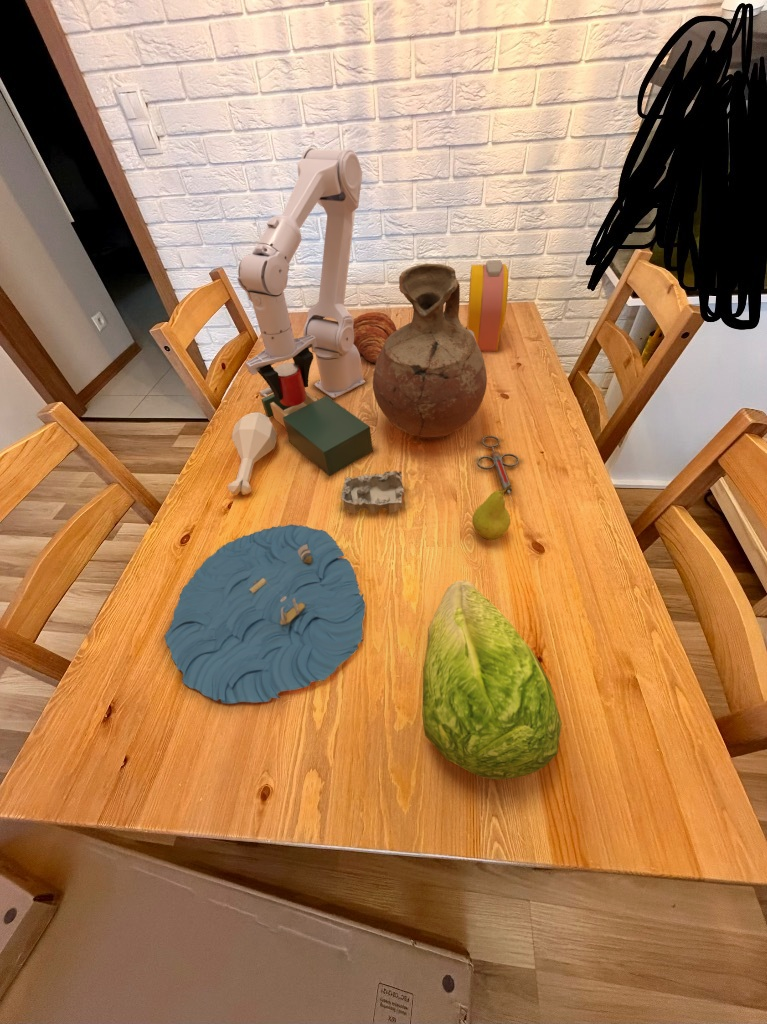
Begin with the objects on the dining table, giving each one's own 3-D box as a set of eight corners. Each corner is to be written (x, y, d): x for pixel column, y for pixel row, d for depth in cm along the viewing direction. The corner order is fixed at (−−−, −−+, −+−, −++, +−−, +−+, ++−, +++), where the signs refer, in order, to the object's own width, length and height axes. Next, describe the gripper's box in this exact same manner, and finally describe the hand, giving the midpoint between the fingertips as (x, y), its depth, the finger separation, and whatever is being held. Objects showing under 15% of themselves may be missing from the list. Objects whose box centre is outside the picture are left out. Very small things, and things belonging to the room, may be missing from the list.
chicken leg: (215, 500, 86) (215, 476, 79) (237, 426, 95) (239, 400, 88) (260, 509, 88) (264, 487, 81) (277, 436, 97) (282, 411, 90)
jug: (360, 446, 92) (339, 294, 70) (398, 388, 105) (391, 245, 83) (466, 469, 86) (479, 309, 64) (493, 404, 99) (511, 252, 77)
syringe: (489, 507, 79) (490, 501, 78) (468, 441, 91) (469, 435, 90) (534, 503, 79) (535, 496, 78) (507, 437, 91) (508, 431, 90)
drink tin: (297, 387, 98) (290, 358, 93) (312, 398, 95) (305, 369, 90) (274, 398, 96) (266, 369, 91) (288, 409, 93) (281, 380, 88)
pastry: (416, 341, 119) (416, 310, 113) (377, 367, 112) (374, 336, 106) (369, 324, 128) (366, 295, 122) (329, 348, 120) (324, 318, 114)
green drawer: (255, 407, 103) (250, 390, 100) (291, 389, 107) (287, 373, 103) (299, 444, 93) (294, 427, 90) (336, 424, 97) (333, 406, 93)
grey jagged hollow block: (405, 486, 84) (404, 469, 81) (401, 517, 79) (401, 500, 76) (347, 484, 85) (345, 468, 82) (341, 514, 80) (337, 498, 77)
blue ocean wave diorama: (296, 758, 56) (285, 748, 52) (131, 650, 67) (111, 634, 63) (407, 571, 71) (406, 552, 67) (258, 508, 82) (249, 489, 78)
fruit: (467, 523, 77) (472, 470, 68) (502, 518, 77) (511, 465, 68) (475, 550, 73) (481, 498, 64) (511, 545, 73) (523, 493, 64)
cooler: (289, 441, 95) (282, 417, 91) (330, 419, 99) (326, 395, 95) (329, 476, 87) (324, 452, 83) (372, 451, 91) (369, 426, 87)
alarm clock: (500, 354, 112) (510, 275, 98) (466, 354, 113) (471, 276, 100) (498, 325, 122) (507, 250, 108) (467, 325, 123) (471, 251, 109)
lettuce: (521, 603, 67) (511, 538, 59) (578, 786, 49) (576, 729, 40) (422, 622, 70) (398, 562, 61) (440, 803, 51) (410, 753, 43)
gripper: (297, 307, 89) (310, 370, 99) (230, 334, 83) (251, 398, 93) (317, 318, 85) (329, 382, 95) (248, 347, 79) (268, 412, 90)
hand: (291, 391), depth 94 cm, fingers closed on drink tin, 5 cm apart
